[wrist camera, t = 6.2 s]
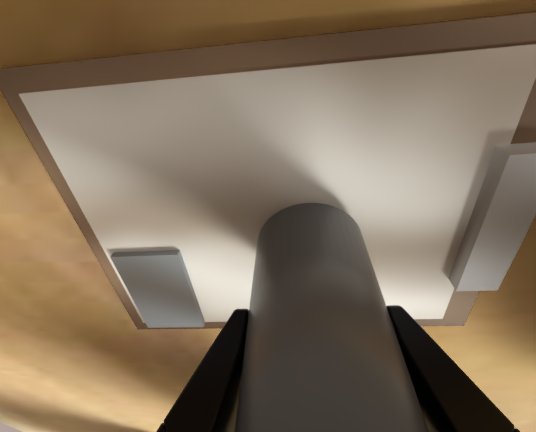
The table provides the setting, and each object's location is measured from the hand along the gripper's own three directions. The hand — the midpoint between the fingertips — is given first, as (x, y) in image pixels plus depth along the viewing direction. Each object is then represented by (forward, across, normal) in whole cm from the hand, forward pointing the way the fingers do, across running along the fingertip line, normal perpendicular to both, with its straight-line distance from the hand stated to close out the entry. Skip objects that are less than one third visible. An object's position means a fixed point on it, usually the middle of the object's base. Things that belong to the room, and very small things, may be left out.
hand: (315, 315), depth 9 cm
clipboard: (+4, +1, 0) cm, 4 cm away
